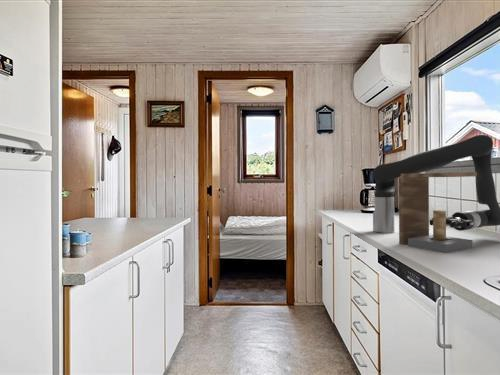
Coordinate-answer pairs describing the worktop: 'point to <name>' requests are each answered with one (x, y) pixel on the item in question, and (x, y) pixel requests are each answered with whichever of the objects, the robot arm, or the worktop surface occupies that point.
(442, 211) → the wooden peg
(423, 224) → the wooden l bracket
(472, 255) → the worktop surface
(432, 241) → the socket plate
